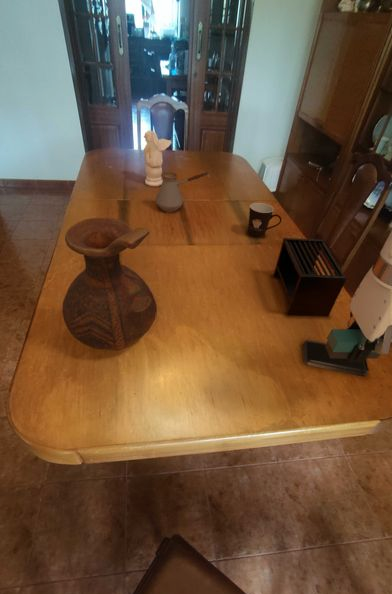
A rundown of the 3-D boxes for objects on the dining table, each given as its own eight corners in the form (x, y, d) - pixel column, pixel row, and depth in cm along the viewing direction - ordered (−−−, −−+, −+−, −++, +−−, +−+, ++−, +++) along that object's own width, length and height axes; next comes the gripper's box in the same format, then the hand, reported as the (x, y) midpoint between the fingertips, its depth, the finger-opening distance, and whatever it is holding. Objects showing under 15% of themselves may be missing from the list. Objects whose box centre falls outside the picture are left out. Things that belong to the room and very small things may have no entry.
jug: (67, 368, 71) (24, 245, 50) (70, 307, 85) (37, 191, 64) (163, 355, 76) (162, 238, 54) (151, 300, 90) (146, 189, 68)
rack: (308, 276, 104) (323, 239, 95) (328, 316, 90) (347, 278, 81) (273, 275, 103) (283, 237, 94) (287, 315, 89) (301, 276, 80)
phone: (369, 374, 75) (305, 361, 76) (367, 377, 75) (303, 364, 77) (364, 350, 80) (304, 338, 81) (362, 353, 81) (303, 341, 82)
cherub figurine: (145, 178, 154) (143, 124, 138) (170, 179, 156) (171, 126, 140) (144, 187, 146) (141, 131, 130) (171, 189, 147) (171, 133, 131)
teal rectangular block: (372, 345, 63) (383, 329, 60) (379, 359, 60) (391, 343, 57) (323, 345, 62) (331, 328, 59) (328, 359, 60) (337, 342, 56)
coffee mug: (240, 232, 122) (245, 206, 115) (254, 226, 127) (260, 200, 119) (263, 244, 117) (270, 218, 110) (277, 238, 121) (285, 212, 114)
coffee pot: (153, 212, 129) (152, 172, 118) (157, 201, 137) (156, 162, 126) (205, 217, 129) (209, 177, 118) (206, 205, 137) (210, 167, 126)
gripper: (456, 305, 42) (389, 387, 56) (398, 243, 54) (354, 323, 67) (403, 304, 42) (347, 386, 55) (355, 242, 53) (319, 322, 67)
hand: (351, 351), depth 61 cm, fingers closed on teal rectangular block, 3 cm apart
